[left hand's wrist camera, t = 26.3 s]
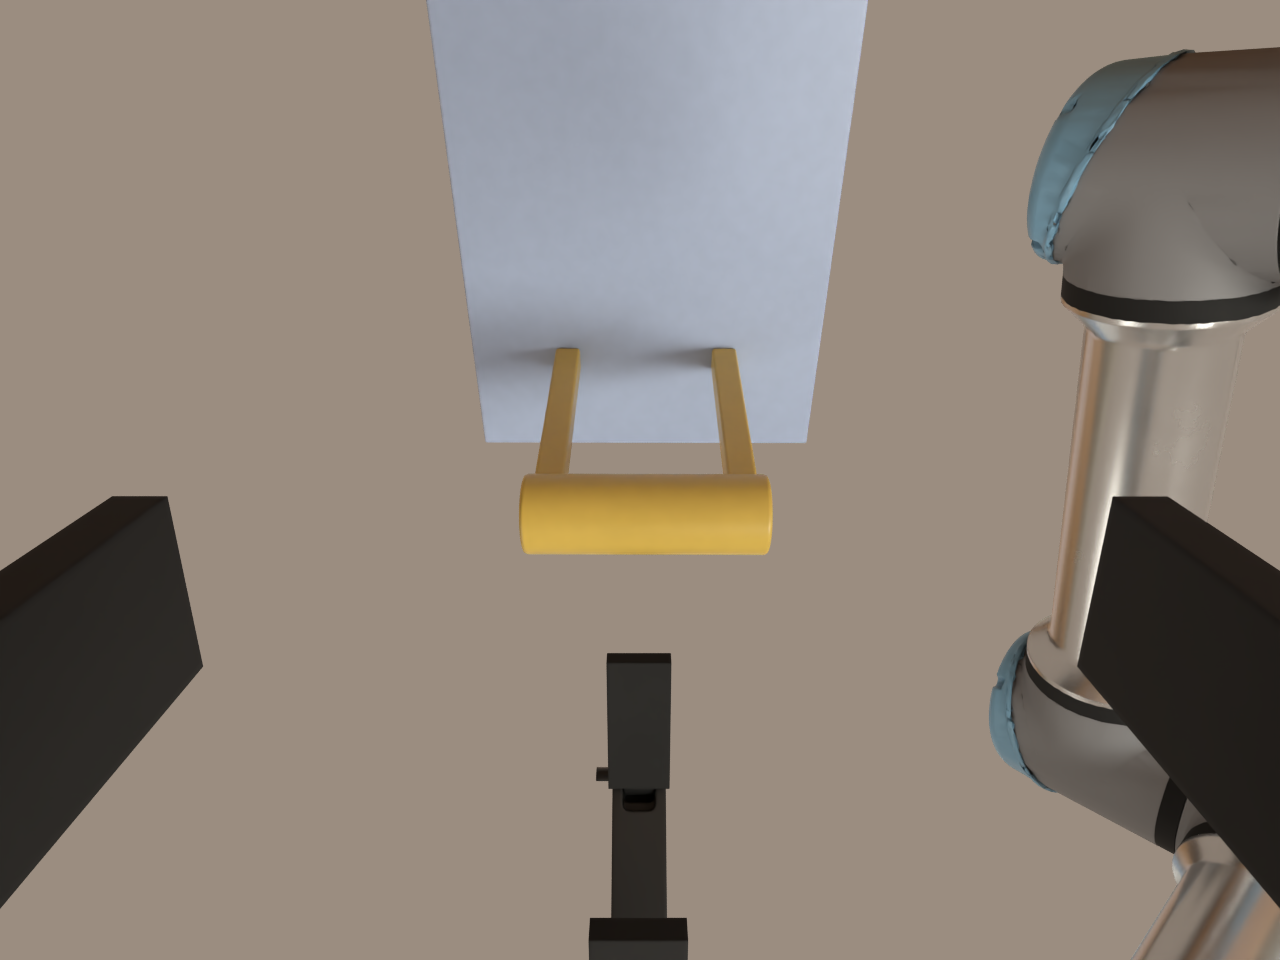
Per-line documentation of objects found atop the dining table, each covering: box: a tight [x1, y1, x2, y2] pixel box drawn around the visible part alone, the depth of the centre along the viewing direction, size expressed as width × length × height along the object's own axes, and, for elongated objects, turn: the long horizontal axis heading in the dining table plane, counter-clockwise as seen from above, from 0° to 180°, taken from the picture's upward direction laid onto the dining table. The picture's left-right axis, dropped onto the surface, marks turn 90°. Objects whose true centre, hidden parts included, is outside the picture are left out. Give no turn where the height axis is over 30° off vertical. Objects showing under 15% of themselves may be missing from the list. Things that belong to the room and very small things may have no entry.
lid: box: [426, 0, 868, 555], centre depth 20 cm, size 14×10×9 cm
